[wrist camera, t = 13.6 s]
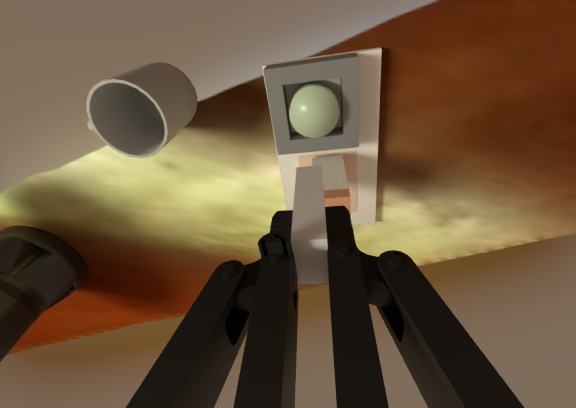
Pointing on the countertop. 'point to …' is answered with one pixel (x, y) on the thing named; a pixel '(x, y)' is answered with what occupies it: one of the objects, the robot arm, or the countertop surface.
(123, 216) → the countertop surface
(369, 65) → the board
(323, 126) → the button
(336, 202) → the grey and orange block
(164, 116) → the cup
